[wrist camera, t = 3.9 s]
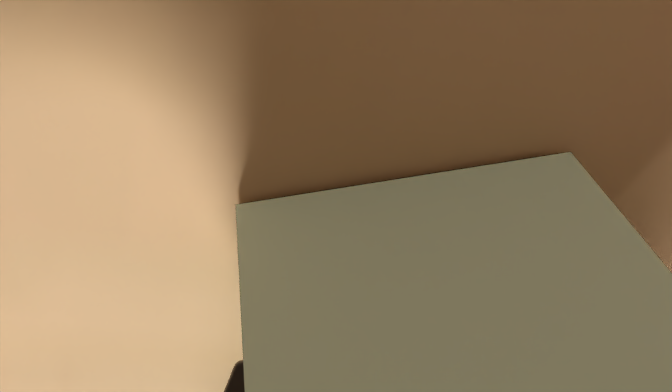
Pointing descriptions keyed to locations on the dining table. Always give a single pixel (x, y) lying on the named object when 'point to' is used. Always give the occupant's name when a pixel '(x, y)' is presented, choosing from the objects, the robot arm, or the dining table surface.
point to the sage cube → (453, 287)
